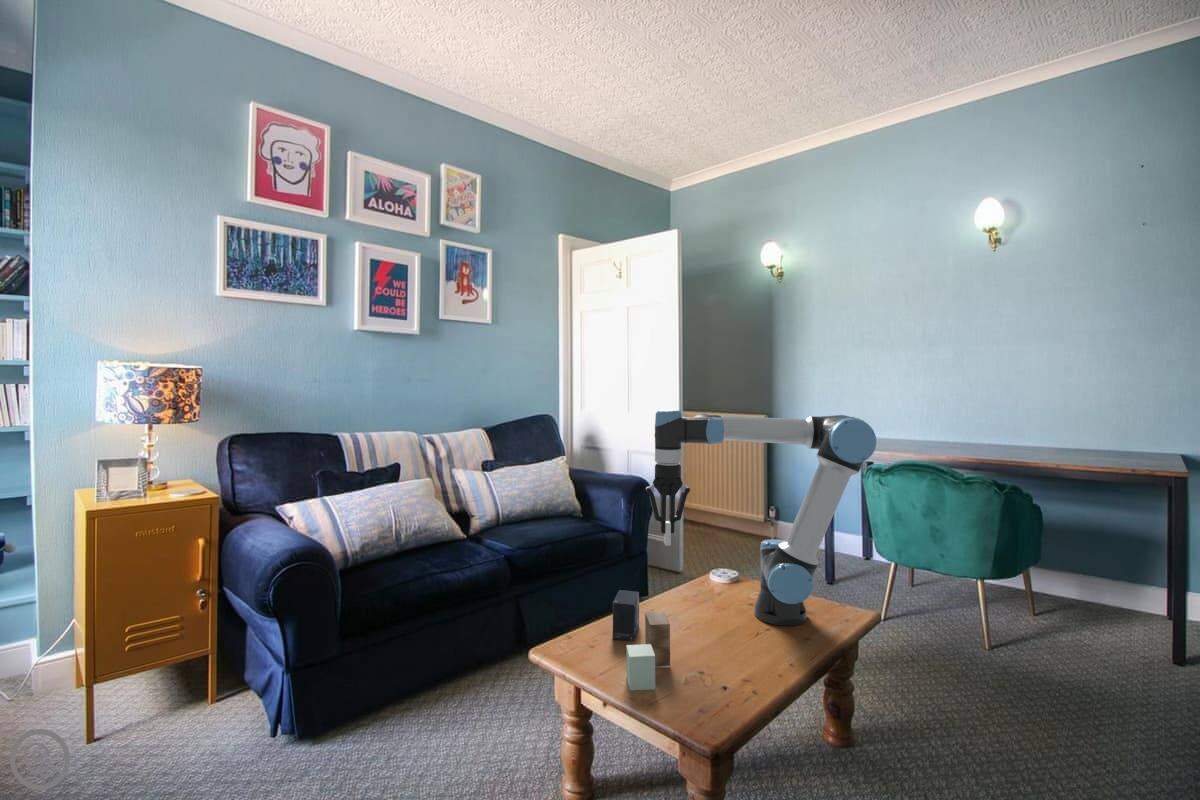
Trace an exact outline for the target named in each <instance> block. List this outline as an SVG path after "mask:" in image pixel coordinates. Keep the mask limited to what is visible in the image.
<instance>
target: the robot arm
mask: <svg viewBox="0 0 1200 800" xmlns="http://www.w3.org/2000/svg"><path fill="white" fill-rule="evenodd" d="M654 418H655V420H654V422H655V423H654V461H655V464H654V479H653V481H652V484H650V485H649V486H646V487H645V491H646V493H647V494H648V496H649V501H650V504H651V509H652V513H653V517H654V519H655V521H657V522H660V533H661V534H663V544H664V546H666V547H668V546H669V547H671V544H672V543H671V542H672V541H671V540H672V539H671V537H672V534H674V533H675V524H676V522H677V521H681V519H682V517H683V511H684V507H685V504H686V501H687V500H686V499H687V496H688V494H689V493H690V492H691V488H690V487H689V486H687V485H684V484H683V481H682V465H681V464H680V463H681V462H682V444H709V445H713V444H714V445H715V444H722V443H723V442H724V441H732V442H733V441H735V442H748V443H749V442H753V443H765V444H766V443H768V444H769V443H770V444H785V445H799V446H801V445H804V446H805V447H806V448H807V449H810V450H811V449H815V450H818V451H817V454H816V458H817V459H818V462H819V464H818V465H817V469H816V470H815V472H814V475H813V477H812V480H811V482H810V484H809V487H808V489H807V491H806V493H805V496H804V498H803V500H802V503H801V505H800V508H799V509H798V512H797V514H796V515H795V519H794V521H793V523H792V525H791V528H790V531H789V532H788V535H787V537H786V539H773V538H772V539H764V540H762V541H761V542H760V549H759V552H760V578H759V579H760V589H759V593H758V595H757V597H756V601H755V604H754V616H755V617H756V618H757V619H759V620H760V621H762V622H764V623H768V624H771V625H775V626H786V627H787V626H788V627H790V626H797V625H801V624H804V623H805V622H806V621H807V618H808V617H807V615H808V614H807V609H806V605H805V603H804V601H806V600H807V599H809V597H810V596H811V595H812V593H813V590H814V578H813V577H814V575H815V572H816V570H817V569H818V566H819V563H820V562H819V560H818V558H817V554H818V551H819V549H820V546H821V545H822V542H823V539H824V537H825V535H826V533H827V530H828V528H829V526H830V525H831V521H832V519H833V517H834V515H835V512H836V510H837V507H838V506H839V505H840V501H841V500H842V497H843V494H844V493H845V490H846V487H847V485H848V483H849V481H850V479H851V477H852V476H853V475H856V474H859V473H860V471H861V469H862V466H863V464H864V462H865V461H867V460H868V459H869V458H871V456H873V454H874V452H875V451H876V449H877V448H876V447H877V435H876V434H875V433H876V432H875V430H874V429H873V428H872V426H871V425H870V424H869V423H868V422H866V421H864V420H863V419H861V418H859V417H854V416H848V415H844V414H839V415H838V414H837V415H825V416H811V415H809V416H808V417H807V418H806V419H805V418H804V419H802V418H801V419H800V418H785V417H760V416H759V417H758V416H742V415H741V416H740V415H738V416H737V415H717V414H707V413H699V414H696V415H695V416H683V415H682V411H681V410H679V409H659V410H657V411H656V412H655V417H654ZM655 489H656V490H655ZM655 491H657V492H658V494H659V495H660V496H659V498H660V507H659V508H660V509H659V510H660V515H659V510H658V507H657V505H658V504H657V502H656V501H657V500H656V496H655V494H654V493H655ZM679 491H680V492H681V493H680V497H679V500H678V503H677V508H676V494H678V492H679ZM667 496H668V497H669V498H668V504H669V507H668V510H669V511H668V515H669V516H668V517H669V518H668V519H669V520H667Z"/></svg>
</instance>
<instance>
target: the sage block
mask: <svg viewBox="0 0 1200 800" xmlns="http://www.w3.org/2000/svg"><path fill="white" fill-rule="evenodd" d="M625 647H626V680H627V683H628V688H629V691H648V690H649V691H650V690H656V668H655V654H654V651H653V649H652V646H651V644H645V643H644V644H643V643H641V644H626V646H625Z"/></svg>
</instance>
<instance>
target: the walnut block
mask: <svg viewBox="0 0 1200 800" xmlns="http://www.w3.org/2000/svg"><path fill="white" fill-rule="evenodd" d="M644 613H645V614H644V616H645V618H644V620H645V622H644V626H645V627H644V629H645V630H644V631H645V643H644V644H651V646H652V649H653V651H654V654H655V669H658V668H659V669H660V668H662V669H663V668H671V623H670V622H669V619H668V617H667V615H666V613H665V611H646V612H644Z"/></svg>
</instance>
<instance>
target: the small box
mask: <svg viewBox="0 0 1200 800" xmlns="http://www.w3.org/2000/svg"><path fill="white" fill-rule="evenodd" d="M639 625H640V592H639V591H635V590H633V591H632V590H624V589H623V590H622V589H619V590H618V592H617V594H616V595H615V598H614V599H613V601H612V640H621V641H631V642H632V641H635V638H636V635H637V632H638V630H639Z"/></svg>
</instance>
